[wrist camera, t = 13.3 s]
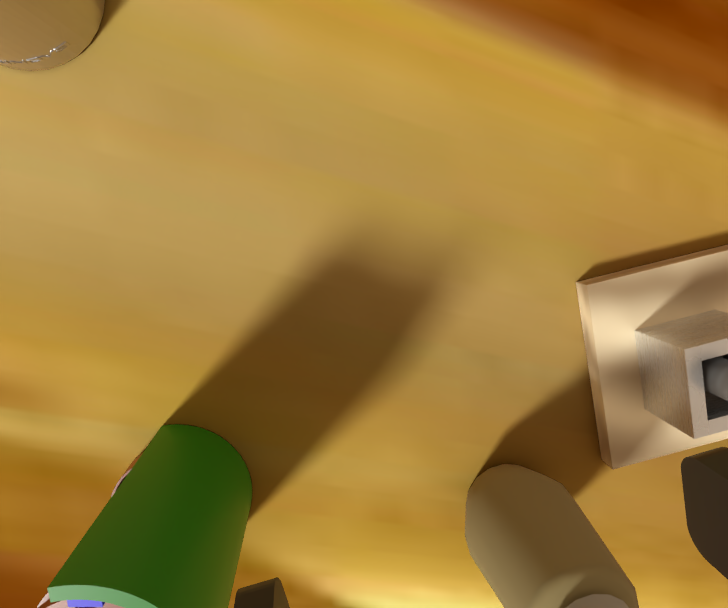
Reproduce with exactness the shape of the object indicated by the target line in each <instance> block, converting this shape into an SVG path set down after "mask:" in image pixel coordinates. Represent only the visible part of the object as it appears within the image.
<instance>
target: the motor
mask: <svg viewBox="0 0 728 608" xmlns="http://www.w3.org/2000/svg"><path fill="white" fill-rule="evenodd" d="M251 501H252V482H251V477H250V474H249V471H248V468H247V466H246V464H245V462H244V460H243V459H242V457H241V456H240V454H239V453H238V452H237V451H236V450H235V448H234V447H233V446H232V445H230V444H229V443H228V442H227V441H226V440H224V439H223V438H221V437H220V436H218V435H216V434H215V433H213V432H210V431H208V430H205V429H203V428H199V427H195V426H190V425H180V424H173V425H164V426H162V427H161V428H160V429H159V431H158V432H157V434H156V435H155V436H154V438H153V439H152V441H151V442H150V444H149V445H148V446H147V448H146V449H145V451H144V452H143V453H141V454H140V455H139V456H138V457H137V458H136V459H135V460H134V461H133V462H132V463H131V465H130V466H129V467H128V469H127V470H126V472H125V473H124V474H123V476H122V477H121V479H120V480H119V481H118V483H117V484H116V486H115V488H114V490H113V493H112V496H111V499H110V500H109V502H108V503H107V504H106V506H105V507H104V509H103V510H102V511H101V513H100V514H99V516H98V517H97V518H96V520H95V521H94V523H93V524H92V526H91V527H90V528H89V530H88V531H87V533H86V534H85V535H84V537H83V538H82V540H81V541H80V543H79V544H78V545H77V547H76V548H75V550H74V551H73V552H72V554H71V555H70V557H69V558H68V559H67V561H66V562H65V564H64V565H63V567H62V568H61V569H60V571H59V572H58V574H57V575H56V576H55V578H54V579H53V581H52V582H51V584H50V585H49V586H48V592H47V593H46V595H45V596H44V597H43V599H42V600H41V602H40V603H39V605H38V607H37V608H228V605H229V600H230V596H231V591H232V587H233V582H234V578H235V573H236V569H237V565H238V560H239V556H240V551H241V547H242V542H243V538H244V533H245V529H246V524H247V520H248V515H249V511H250V506H251Z"/></svg>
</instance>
